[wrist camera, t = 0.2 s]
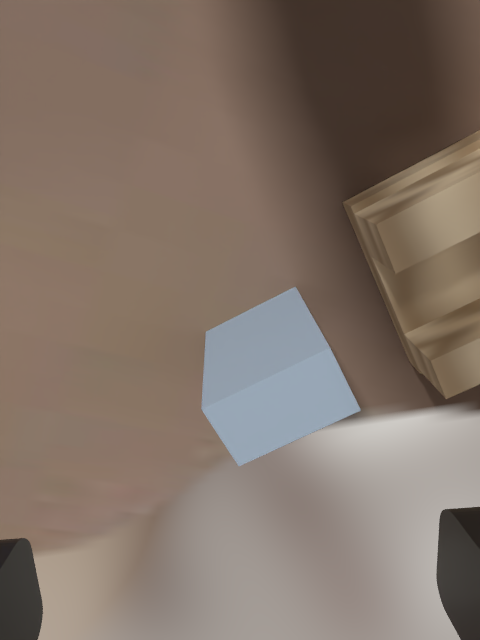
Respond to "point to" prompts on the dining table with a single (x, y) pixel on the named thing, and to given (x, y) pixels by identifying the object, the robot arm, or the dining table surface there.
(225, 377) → the rectangular block
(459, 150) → the slotted block
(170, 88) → the dining table surface
